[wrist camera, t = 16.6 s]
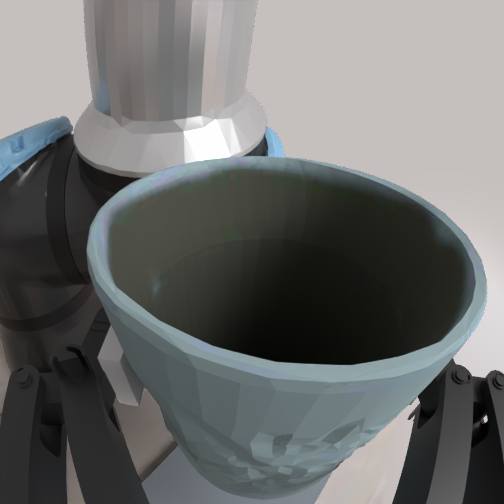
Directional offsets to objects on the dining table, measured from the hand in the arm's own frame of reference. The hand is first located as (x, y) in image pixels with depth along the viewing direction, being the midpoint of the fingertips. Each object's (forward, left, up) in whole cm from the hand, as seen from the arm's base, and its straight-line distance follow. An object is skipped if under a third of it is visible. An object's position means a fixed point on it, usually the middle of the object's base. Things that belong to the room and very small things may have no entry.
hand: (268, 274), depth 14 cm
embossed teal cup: (+2, -4, -7) cm, 8 cm away
